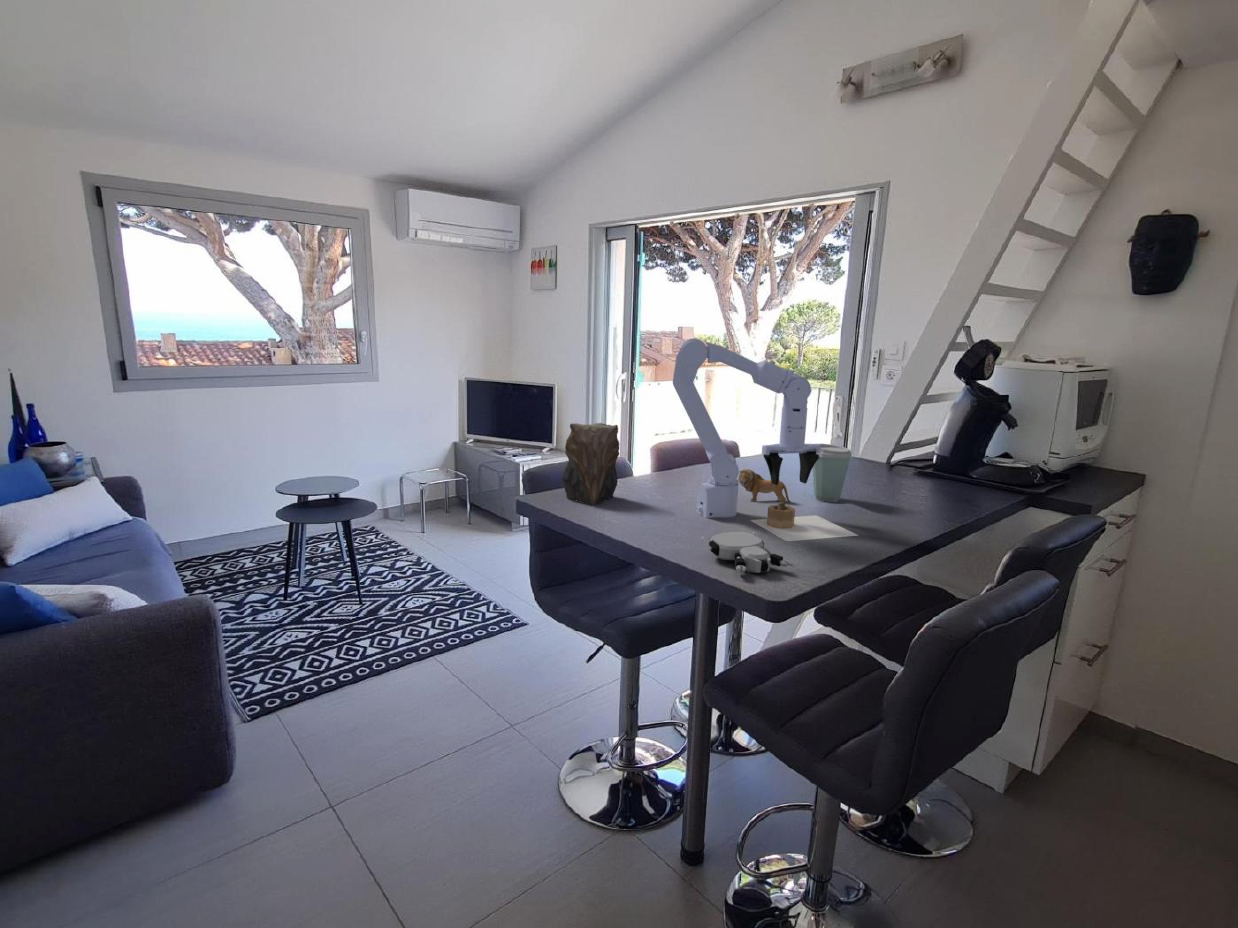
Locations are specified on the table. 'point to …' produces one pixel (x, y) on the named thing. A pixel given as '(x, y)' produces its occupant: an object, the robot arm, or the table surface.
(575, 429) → the owl
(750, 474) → the lion figurine
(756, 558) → the robot toy
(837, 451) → the disposable coffee cup
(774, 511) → the oak bead
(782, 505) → the rod
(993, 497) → the table surface
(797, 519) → the white flat rectangular panel
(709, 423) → the robot arm
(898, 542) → the table surface
